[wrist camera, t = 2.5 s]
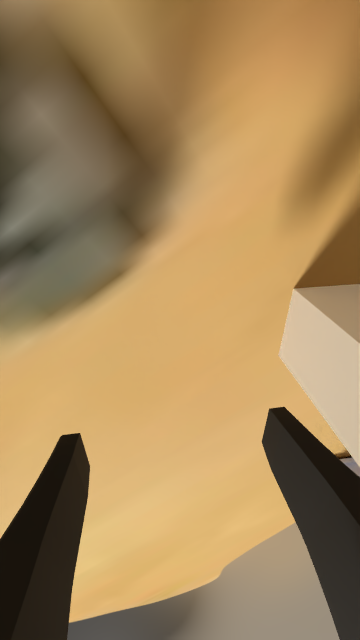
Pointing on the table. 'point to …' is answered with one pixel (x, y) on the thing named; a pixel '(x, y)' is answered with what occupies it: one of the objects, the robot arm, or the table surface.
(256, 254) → the table surface
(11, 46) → the table surface
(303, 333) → the tall block
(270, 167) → the table surface
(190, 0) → the table surface
